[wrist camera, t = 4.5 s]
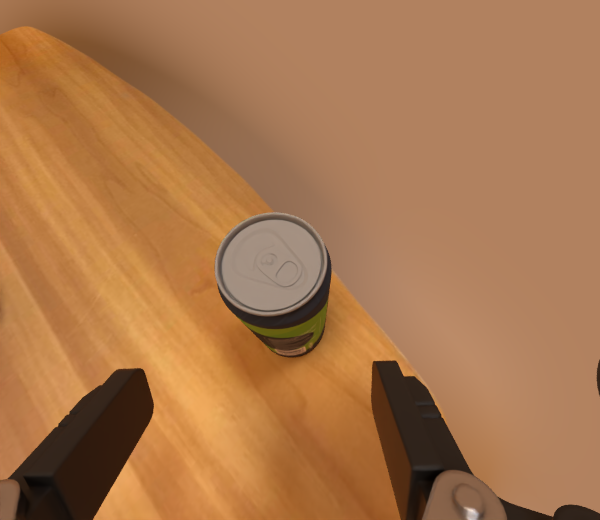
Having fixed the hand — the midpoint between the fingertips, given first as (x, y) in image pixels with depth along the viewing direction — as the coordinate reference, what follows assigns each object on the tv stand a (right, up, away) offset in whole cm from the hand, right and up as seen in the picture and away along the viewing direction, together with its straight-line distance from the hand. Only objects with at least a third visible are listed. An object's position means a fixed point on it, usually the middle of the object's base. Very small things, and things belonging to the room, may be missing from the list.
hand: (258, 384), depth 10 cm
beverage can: (+1, -2, +18) cm, 18 cm away
